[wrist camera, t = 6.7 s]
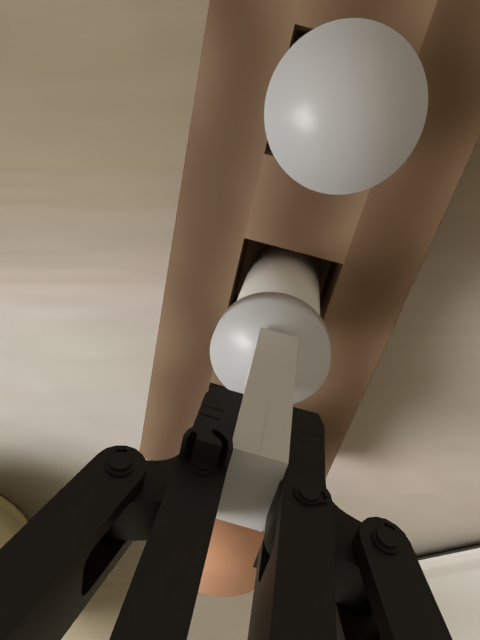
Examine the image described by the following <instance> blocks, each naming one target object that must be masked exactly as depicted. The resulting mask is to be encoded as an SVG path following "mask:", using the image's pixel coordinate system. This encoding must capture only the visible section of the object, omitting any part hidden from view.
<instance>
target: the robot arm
mask: <svg viewBox="0 0 480 640" xmlns="http://www.w3.org/2000/svg"><path fill="white" fill-rule="evenodd" d="M298 339H299V338H298V337H295V336H291V335H287V334H284V333H280V332H276V331H273V330H269V329H265V328H262V327H261V328H260V332H259V335H258V339H257V342H256V346H255V349H254V353H253V356H252V360H251V363H250V367H249V370H248V374H247V377H246V381H245V385H244V389H243V393H239V392H235V391H232V390H228V389H224V388H221V387H217V386H214V387H213V388H211V389H210V390H209V391H208V392H206V393H205V395H204V398H203V401H202V403H201V406H200V409H199V411H198V414H197V417H196V419H195V422H194V424H193V427H191V428H189V429H188V430H187V431H186V432H185V434H184V435H183V439H182V444H181V448H180V453H179V454H178V455H177V456H175V457H173V458H170V459H167V460H158V461H152V460H145V458H144V456H143V454H142V453H140V452H139V451H138V450H136V449H134V448H131V447H128V446H113V447H109V448H106V449H104V450H103V451H101V452H100V453H98V454H97V455H96V456H95V457H94V458H93V459H92V460H91V461H90V462H89V463H88V464H87V465H86V466H85V467H84V468H83V469H82V470H81V471H80V472H79V473H78V474H77V475H76V476H75V477H74V478H73V479H72V480H71V481H70V482H69V483H67V484H66V485H65V486H64V487H63V488H62V489H61V490H60V491H59V492H58V493H57V494H56V495H55V496H54V497H53V498H52V499H51V500H50V501H49V502H48V503H47V504H46V505H45V506H44V507H43V508H42V509H41V510H40V511H39V512H38V513H37V514H36V515H34V516H33V517H32V518H31V519H30V520H29V521H28V522H27V523H26V524H25V525H24V526H23V527H22V528H21V529H20V530H19V531H18V532H17V533H16V534H15V535H14V536H13V537H12V538H11V539H10V540H9V541H8V542H7V543H6V544H5V545H4V546H3V547H2V548H0V640H61V639H62V637H63V636H64V635H65V633H66V632H67V630H68V629H69V628H70V626H71V625H72V624H73V622H74V621H75V620H76V618H77V617H78V615H79V614H80V613H81V611H82V610H83V609H84V607H85V606H86V604H87V603H88V602H89V600H90V599H91V598H92V596H93V595H94V594H95V592H96V591H97V589H98V588H99V587H100V585H101V584H102V583H103V581H104V580H105V579H106V577H107V576H108V574H109V573H110V572H111V570H112V569H113V568H114V566H115V565H116V564H117V562H118V561H119V559H120V558H121V557H122V555H123V554H124V553H125V551H126V550H127V548H128V547H129V546H130V544H131V543H132V541H136V540H147V542H146V545H145V547H144V550H143V553H142V555H141V558H140V561H139V563H138V566H137V568H136V571H135V574H134V576H133V579H132V582H131V584H130V587H129V590H128V592H127V595H126V597H125V600H124V603H123V605H122V608H121V611H120V613H119V616H118V619H117V621H116V624H115V626H114V629H113V632H112V634H111V637H110V640H187V636H188V632H189V628H190V624H191V620H192V615H193V611H194V607H195V603H196V599H197V594H198V590H199V586H200V582H201V578H202V573H203V569H204V565H205V561H206V557H207V553H208V548H209V544H210V540H211V536H212V532H213V527H214V523H215V519H219V520H223V521H226V522H230V523H233V524H236V525H240V526H243V527H247V528H250V529H254V530H257V531H260V532H262V531H263V529H264V526H265V523H266V526H265V534H264V539H263V541H262V544H261V546H260V549H259V551H258V554H257V557H256V559H255V562H254V565H253V567H254V568H257V571H256V578H255V586H254V593H253V601H252V608H251V616H250V623H249V631H248V638H247V640H453V639H452V637H451V635H450V632H449V630H448V628H447V626H446V623H445V621H444V619H443V616H442V614H441V612H440V610H439V607H438V605H437V603H436V600H435V598H434V596H433V594H432V591H431V589H430V587H429V584H428V582H427V580H426V578H425V575H424V573H423V571H422V568H421V566H420V564H419V562H418V559H417V557H416V555H415V552H414V550H413V548H412V546H411V543H410V541H409V540H408V538H407V537H406V535H405V533H404V532H403V531H402V530H401V529H400V528H399V527H398V526H396V525H395V524H393V523H392V522H390V521H388V520H387V519H383V518H379V517H370V518H367V519H366V520H364V521H363V522H360V521H358V520H356V519H355V518H353V517H351V516H350V515H348V514H346V513H345V512H343V511H342V510H341V509H339V508H338V507H337V506H336V505H335V504H334V503H333V501H332V499H331V495H330V493H329V491H328V490H327V488H326V480H325V450H324V449H325V440H324V438H325V426H324V424H323V422H322V420H321V418H320V416H319V414H317V413H314V412H310V411H307V410H303V409H300V408H296V407H293V401H294V388H295V376H296V364H297V351H298Z"/></svg>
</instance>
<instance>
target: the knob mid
mask: <svg viewBox="0 0 480 640" xmlns="http://www.w3.org/2000/svg"><path fill="white" fill-rule="evenodd" d="M261 327H262V328H265V329H269V330H273V331H276V332H280V333H284V334H287V335H291V336H295V337H298V338H299V339H298V351H297V364H296V376H295V388H294V401H293V404H294V403H297V402H300V401H302V400H304V399H306V398H307V397H309V396H311V395H312V394H313V393H314V392H316V391H317V390H318V389H319V387H320V386H321V385H322V384H323V382H324V381H325V379H326V377H327V375H328V372H329V369H330V363H331V348H330V337H329V333H328V330H327V327H326V325H325V323H324V321H323V319H322V318H321V317H320V287H319V267H318V264H317V262H316V260H315V258H314V257H313V256H310V255H307V254H303V253H299V252H295V251H292V250H288V249H284V248H280V247H277V246H273V245H267V246H266V247H264V248H262V249H261V250H260V251H259V252H258V253H257V254H256V255H255V257H254V258H253V260H252V263H251V265H250V268H249V270H248V273H247V276H246V278H245V281H244V283H243V286H242V289H241V291H240V294H239V296H238V299H237V301H236V302H234V303H233V304H232V305H231V306H229V307H228V309H227V310H226V311H225V312H224V313H223V315H222V316H221V318H220V320H219V322H218V324H217V326H216V329H215V331H214V333H213V336H212V339H211V343H210V359H211V364H212V367H213V369H214V372H215V374H216V375H217V377H218V379H219V380H220V381H221V383H222V384H223V385H224V386H225V387H226V388H227V389H228V390H232V391H235V392H239V393H243V389H244V385H245V381H246V377H247V374H248V370H249V367H250V363H251V360H252V356H253V353H254V349H255V346H256V342H257V339H258V335H259V332H260V328H261Z"/></svg>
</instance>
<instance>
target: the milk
mask: <svg viewBox="0 0 480 640" xmlns="http://www.w3.org/2000/svg"><path fill="white" fill-rule="evenodd" d="M253 593H254V590H253V591H251V592H248V593H246V594H243V595H239V596H232V597H218V596H211V595H206V594H202V593H199V592H198V594H197V599H196V603H195V607H194V611H193V615H192V620H191V624H190V628H189V632H188V636H187V640H247V638H248V631H249V623H250V616H251V608H252V601H253Z"/></svg>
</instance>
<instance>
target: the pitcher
mask: <svg viewBox="0 0 480 640" xmlns="http://www.w3.org/2000/svg"><path fill="white" fill-rule="evenodd" d="M27 522H28V520H27V519H26V517H25V516H24V515H23V514H22V512H21V511H20V510H19V509H18V508H17V507H16V506H15V505H13V504H12V503H11V502H10V501H8V500H7V499H5V498H4V497H2V496H0V548H2V547H3V546H4V545H5V544H6V543H7V542H8V541H9V540H10V539H11V538H12V537H13V536H14V535H15V534H16V533H17V532H18V531H19V530H20V529H21V528H22V527H23V526H24V525H25V524H26V523H27Z"/></svg>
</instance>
